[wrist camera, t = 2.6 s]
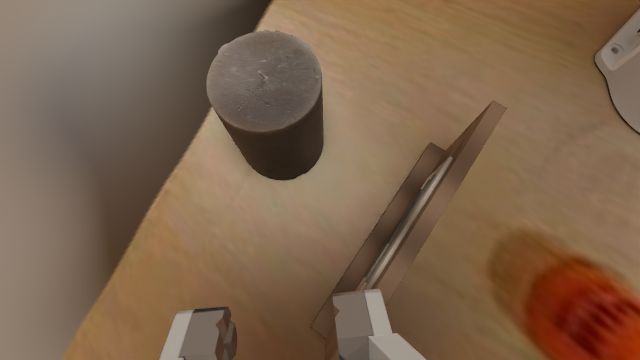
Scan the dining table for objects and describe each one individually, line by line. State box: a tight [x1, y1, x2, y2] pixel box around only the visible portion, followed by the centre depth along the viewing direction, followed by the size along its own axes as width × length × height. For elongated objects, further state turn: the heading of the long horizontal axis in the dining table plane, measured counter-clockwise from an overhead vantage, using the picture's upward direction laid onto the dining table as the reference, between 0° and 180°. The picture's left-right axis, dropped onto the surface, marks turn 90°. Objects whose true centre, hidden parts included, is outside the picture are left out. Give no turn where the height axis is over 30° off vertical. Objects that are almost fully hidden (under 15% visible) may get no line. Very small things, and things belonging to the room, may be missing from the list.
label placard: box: [310, 101, 507, 360], centre depth 32 cm, size 24×5×13 cm, turn 145°
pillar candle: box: [207, 30, 323, 180], centre depth 35 cm, size 10×10×15 cm
